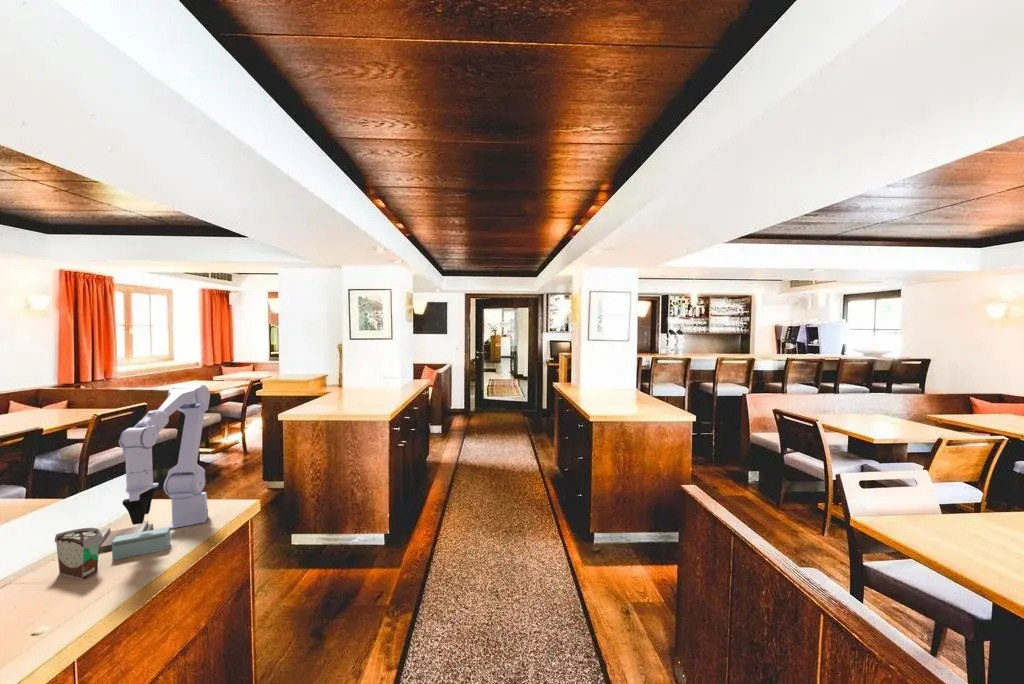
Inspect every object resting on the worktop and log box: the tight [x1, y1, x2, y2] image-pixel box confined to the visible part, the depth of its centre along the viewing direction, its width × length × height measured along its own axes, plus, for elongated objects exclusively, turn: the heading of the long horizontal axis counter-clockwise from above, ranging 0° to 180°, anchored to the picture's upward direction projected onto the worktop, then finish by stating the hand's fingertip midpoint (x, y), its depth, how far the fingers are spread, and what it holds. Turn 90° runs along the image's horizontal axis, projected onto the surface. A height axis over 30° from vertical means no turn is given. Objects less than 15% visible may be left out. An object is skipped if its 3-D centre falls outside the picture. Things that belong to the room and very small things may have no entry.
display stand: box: [99, 520, 154, 553], centre depth 133 cm, size 13×12×3 cm
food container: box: [54, 527, 103, 580], centre depth 116 cm, size 12×6×10 cm, turn 71°
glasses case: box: [111, 526, 171, 561], centre depth 126 cm, size 12×4×5 cm, turn 119°
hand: (141, 518), depth 126 cm, fingers open, 7 cm apart
